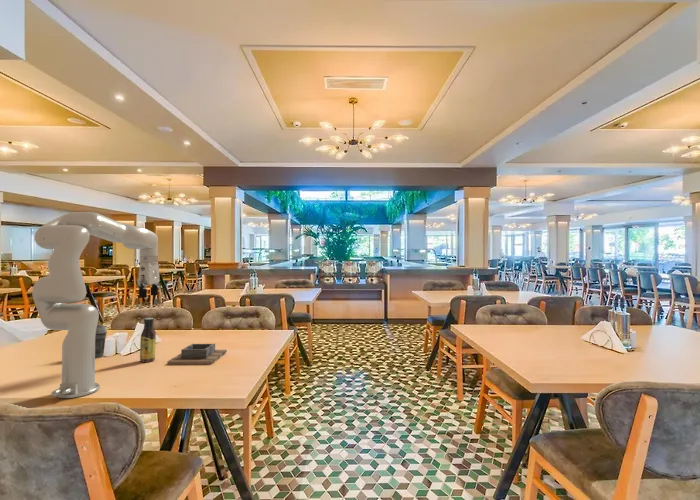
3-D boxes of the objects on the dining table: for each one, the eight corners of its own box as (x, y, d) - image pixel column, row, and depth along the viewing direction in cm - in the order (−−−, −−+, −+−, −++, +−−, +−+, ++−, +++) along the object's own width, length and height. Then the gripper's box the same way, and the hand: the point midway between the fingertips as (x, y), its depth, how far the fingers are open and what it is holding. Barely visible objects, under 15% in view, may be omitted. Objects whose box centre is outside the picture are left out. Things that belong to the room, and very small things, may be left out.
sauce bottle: (136, 361, 166) (137, 318, 166) (149, 358, 171) (150, 316, 172) (145, 363, 163) (146, 319, 163) (158, 360, 168) (158, 317, 169)
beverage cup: (97, 359, 169) (97, 317, 170) (84, 358, 171) (84, 316, 171) (110, 355, 177) (110, 314, 177) (98, 354, 178) (98, 314, 178)
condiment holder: (212, 364, 161) (212, 352, 162) (167, 364, 161) (167, 352, 161) (226, 352, 181) (226, 341, 182) (186, 352, 181) (187, 341, 181)
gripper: (146, 260, 159) (146, 298, 159) (166, 259, 177) (166, 294, 177) (129, 260, 159) (129, 298, 159) (150, 259, 177) (150, 294, 176)
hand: (148, 296), depth 168 cm, fingers open, 9 cm apart
